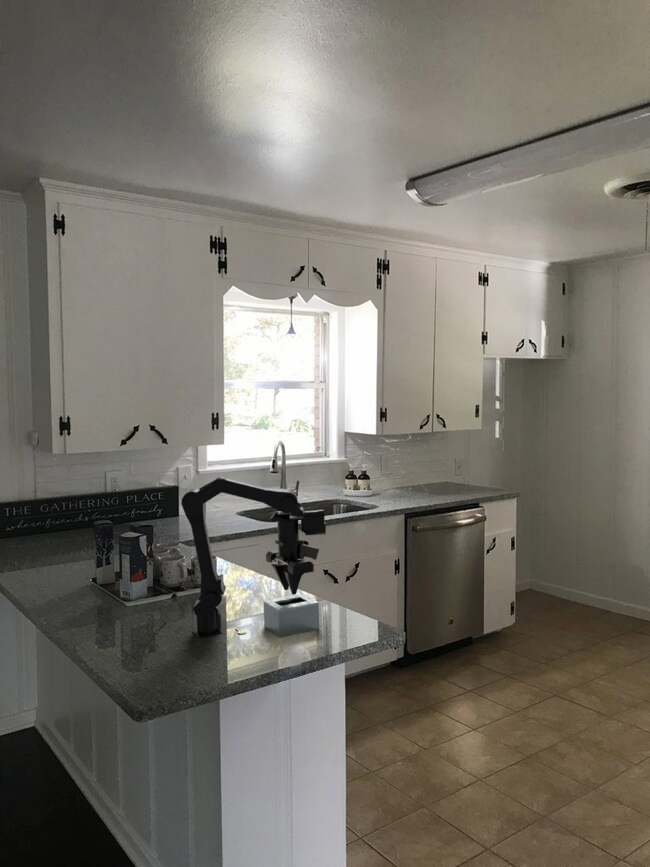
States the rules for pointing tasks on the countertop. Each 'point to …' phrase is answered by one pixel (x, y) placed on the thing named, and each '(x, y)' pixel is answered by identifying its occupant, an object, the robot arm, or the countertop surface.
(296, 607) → the box
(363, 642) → the countertop surface
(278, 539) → the robot arm
